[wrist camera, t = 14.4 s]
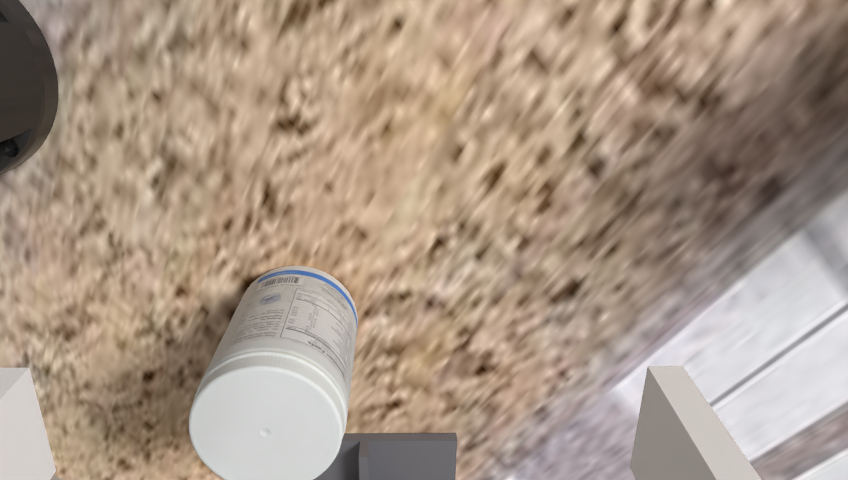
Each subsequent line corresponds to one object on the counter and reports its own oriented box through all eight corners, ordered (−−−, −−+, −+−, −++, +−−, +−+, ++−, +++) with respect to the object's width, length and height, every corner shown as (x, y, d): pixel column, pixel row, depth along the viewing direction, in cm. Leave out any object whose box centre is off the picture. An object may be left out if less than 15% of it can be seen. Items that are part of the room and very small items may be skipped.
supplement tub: (314, 383, 55) (284, 519, 42) (217, 323, 53) (152, 447, 39) (383, 304, 52) (376, 422, 39) (285, 236, 50) (241, 338, 36)
